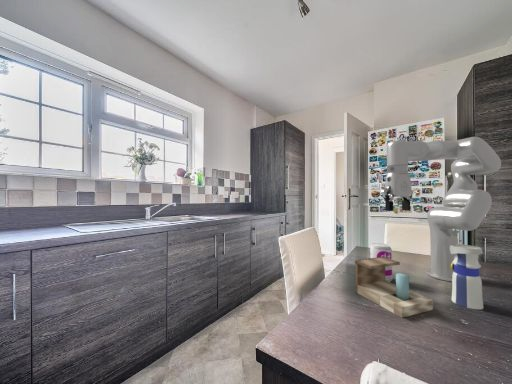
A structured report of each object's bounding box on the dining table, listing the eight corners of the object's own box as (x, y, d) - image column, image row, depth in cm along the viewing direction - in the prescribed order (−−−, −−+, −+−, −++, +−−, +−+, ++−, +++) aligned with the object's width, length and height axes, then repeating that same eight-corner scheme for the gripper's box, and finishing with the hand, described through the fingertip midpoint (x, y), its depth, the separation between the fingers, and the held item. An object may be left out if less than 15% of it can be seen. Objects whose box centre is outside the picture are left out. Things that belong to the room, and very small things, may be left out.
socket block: (383, 286, 85) (382, 256, 85) (433, 309, 68) (432, 271, 68) (355, 292, 81) (355, 260, 81) (401, 317, 64) (401, 277, 64)
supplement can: (395, 284, 88) (395, 247, 88) (374, 282, 90) (373, 246, 90) (387, 276, 96) (387, 243, 96) (367, 275, 98) (367, 242, 98)
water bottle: (444, 300, 74) (443, 228, 75) (457, 295, 78) (456, 227, 78) (475, 312, 67) (474, 232, 67) (489, 306, 70) (487, 230, 71)
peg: (411, 307, 70) (411, 276, 70) (404, 309, 68) (403, 277, 69) (401, 302, 73) (400, 272, 73) (393, 303, 72) (393, 274, 72)
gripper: (390, 168, 84) (391, 211, 84) (420, 170, 90) (421, 210, 89) (374, 170, 91) (374, 210, 91) (403, 172, 97) (403, 209, 96)
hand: (397, 210), depth 90 cm, fingers open, 9 cm apart
